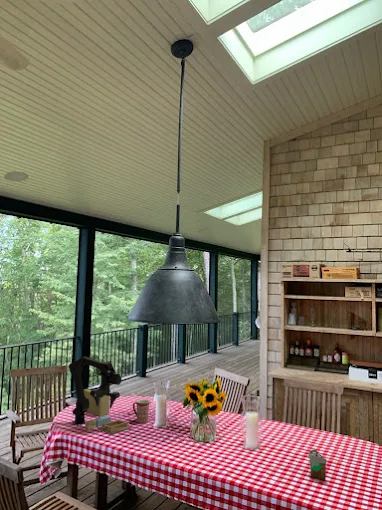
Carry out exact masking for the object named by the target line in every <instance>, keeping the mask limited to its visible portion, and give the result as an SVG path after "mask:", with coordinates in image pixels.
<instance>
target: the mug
mask: <svg viewBox="0 0 382 510" xmlns="http://www.w3.org/2000/svg"><path fill="white" fill-rule="evenodd" d="M150 402H151V401H150V400H149V399H145V398H144V399H143V398H141V399H137V400H136V401H134V402H133V403H132V409H133V412H134V415H135V417H136V423H138V424H146V423H148V421H149V410H150ZM135 405H136V407H135Z"/></svg>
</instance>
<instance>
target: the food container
mask: <svg viewBox="0 0 382 510" xmlns="http://www.w3.org/2000/svg"><path fill="white" fill-rule="evenodd" d="M317 450H318V449H317V448H316V449H311V450H309V451H308V456H307V457H308V459H309V466H310V468H309V469H310V475H311V476H312V477H313V478H314V479H318V480H323V481H325V480H326V476H327V475H326V472H327V471H326V470H327V458H325V457H323V456H322V454H321V453H319V452H318V451H317Z"/></svg>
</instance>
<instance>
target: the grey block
mask: <svg viewBox="0 0 382 510" xmlns="http://www.w3.org/2000/svg"><path fill="white" fill-rule="evenodd" d="M93 420H96V428H100V427H102V424H106V423H109V422H112V417H111V416H110V415H103V416H99V417H96V418H94V419H93Z"/></svg>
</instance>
